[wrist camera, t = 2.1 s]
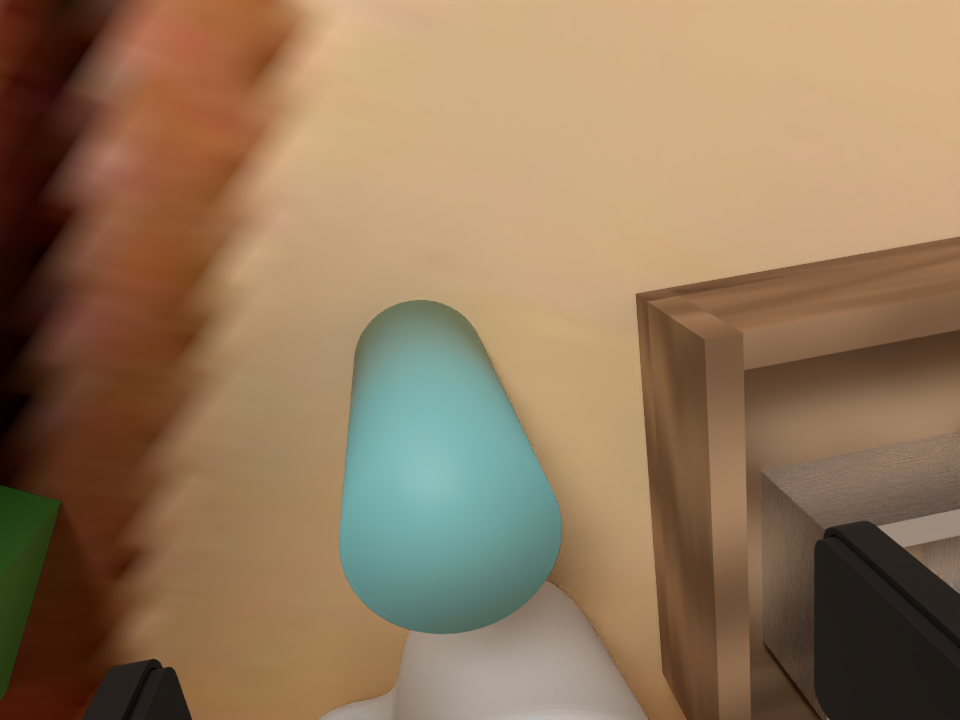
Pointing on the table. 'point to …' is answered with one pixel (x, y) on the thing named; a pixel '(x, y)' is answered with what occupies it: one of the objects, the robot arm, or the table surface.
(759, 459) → the box
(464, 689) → the cup
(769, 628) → the socket
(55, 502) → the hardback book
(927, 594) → the robot arm
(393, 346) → the plug
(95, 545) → the table surface
